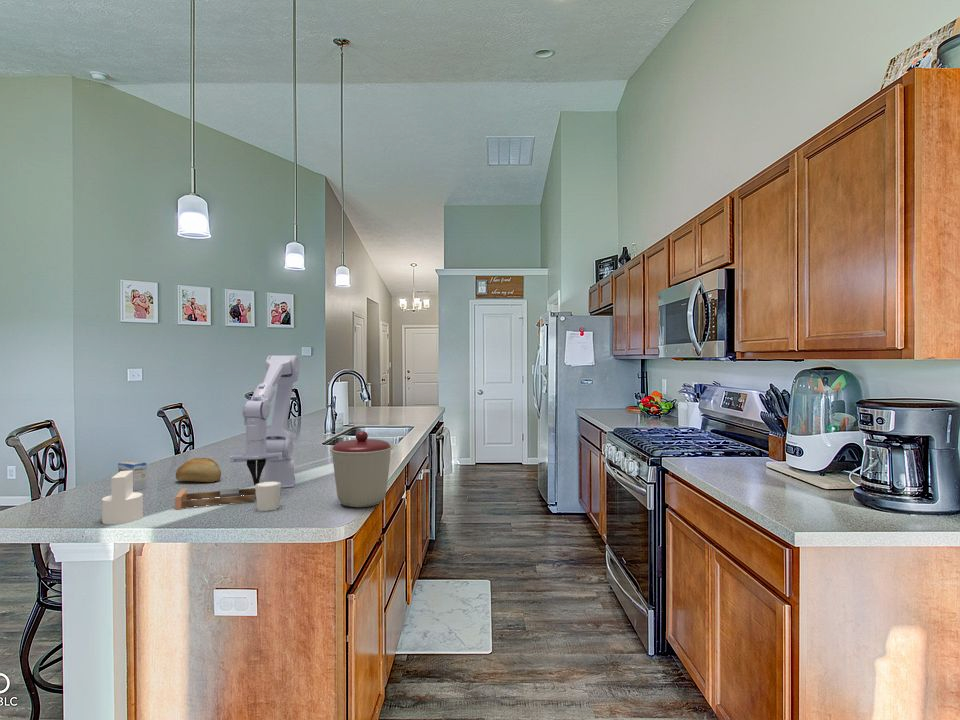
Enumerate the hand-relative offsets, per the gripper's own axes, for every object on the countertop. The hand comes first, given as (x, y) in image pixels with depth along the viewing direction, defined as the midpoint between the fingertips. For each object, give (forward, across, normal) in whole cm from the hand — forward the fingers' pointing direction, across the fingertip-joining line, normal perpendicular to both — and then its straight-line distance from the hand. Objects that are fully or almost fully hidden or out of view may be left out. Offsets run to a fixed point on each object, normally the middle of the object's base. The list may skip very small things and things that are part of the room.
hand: (256, 484), depth 164 cm
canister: (+4, +29, -17) cm, 34 cm away
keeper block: (+4, -8, 0) cm, 9 cm away
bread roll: (+4, -20, +31) cm, 37 cm away
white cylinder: (+4, +4, -13) cm, 14 cm away
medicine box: (+4, -38, +27) cm, 47 cm away
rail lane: (+4, -10, 0) cm, 11 cm away
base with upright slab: (+4, -32, -10) cm, 34 cm away
